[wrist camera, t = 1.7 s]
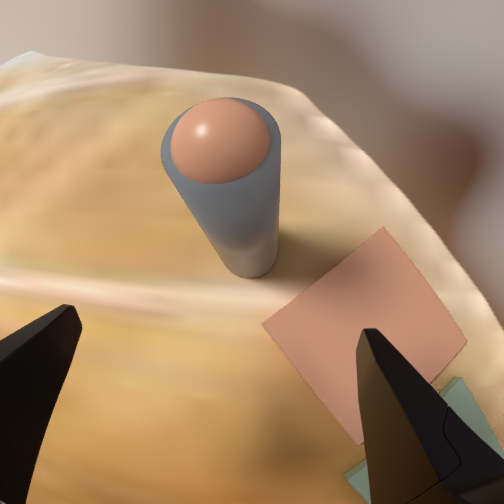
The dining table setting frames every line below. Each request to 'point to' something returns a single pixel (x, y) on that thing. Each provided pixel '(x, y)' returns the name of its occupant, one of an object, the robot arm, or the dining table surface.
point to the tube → (229, 178)
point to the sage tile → (465, 409)
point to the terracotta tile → (363, 324)
